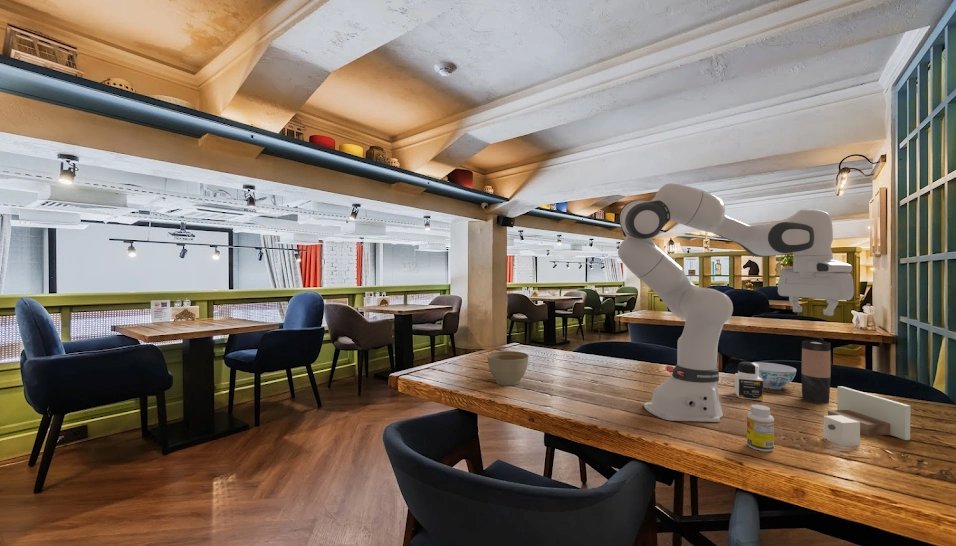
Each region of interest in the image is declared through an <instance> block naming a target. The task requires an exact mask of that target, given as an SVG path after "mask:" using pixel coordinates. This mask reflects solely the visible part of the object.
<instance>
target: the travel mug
mask: <svg viewBox="0 0 956 546" xmlns="http://www.w3.org/2000/svg"><path fill="white" fill-rule="evenodd" d="M830 393H831V342H830V341H829V342H828V341H824V340H823V341H822V340H814V339H813V340H812V339H806V340H802V341H801V398H802V400H804V401H807V402H811V403H815V404H829V403H830V395H831V394H830Z"/></svg>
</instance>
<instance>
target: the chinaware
mask: <svg viewBox="0 0 956 546" xmlns="http://www.w3.org/2000/svg"><path fill="white" fill-rule="evenodd" d="M753 363H756V364H758V365H759V377H760V378H761V379H762V380H763V389H765V388H766V389H768V388H769V389H771V390H782V389H783V387H785V386H787V385H789V384H790V383H791V382H793V380H794V378H795V377H796V373H797V368H795V367H793V366H790V365H785V364H781V363H780V364H779V363H773V362H759V361H758V362H755V361H754V362H753ZM769 389H768V390H769Z"/></svg>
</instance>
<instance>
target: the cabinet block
mask: <svg viewBox="0 0 956 546" xmlns="http://www.w3.org/2000/svg"><path fill="white" fill-rule="evenodd" d="M822 436H823V439H824V440H826V439H827V441H829V442H831V443H834V444H836V445H838V446H840V447H858V446H861V433H860V422H858V421H855V420H853V419H850V418H847V417H844V416H842V415H832V416H828V415H823V435H822Z"/></svg>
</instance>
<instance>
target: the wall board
mask: <svg viewBox="0 0 956 546" xmlns="http://www.w3.org/2000/svg"><path fill="white" fill-rule="evenodd" d="M836 388H837V389H836V390H837V391H836V392H837V393H836V394H837V395H836V396H837V400H836V405H837V406H836V410H851V411H854V412H857V413H860V414H863V415H866V416H869V417H872V418H875V419H878V420H881V421H884V422H887V423H890V435H889V436H892V437H896V438H898V439H900V440H904V441H911V417H912V416H911V414H912V413H911V408H912V406H911V405H909V404H906V403H902V402H899V401H895V400H891V399H888V398H884V397H881V396H879V395H878V396H877V395H874V394H871V393H867V392H863V391H860V390H856V389H853V388H850V387H846V386H842V385H841V386H839V385H838V386H837V387H836Z"/></svg>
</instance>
